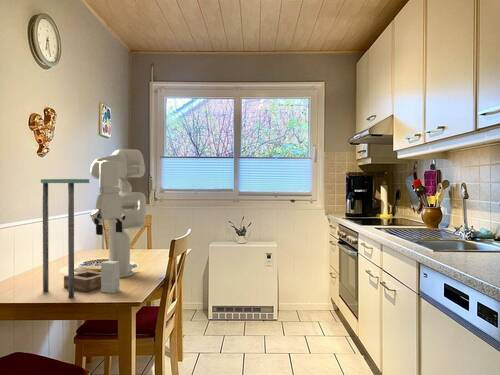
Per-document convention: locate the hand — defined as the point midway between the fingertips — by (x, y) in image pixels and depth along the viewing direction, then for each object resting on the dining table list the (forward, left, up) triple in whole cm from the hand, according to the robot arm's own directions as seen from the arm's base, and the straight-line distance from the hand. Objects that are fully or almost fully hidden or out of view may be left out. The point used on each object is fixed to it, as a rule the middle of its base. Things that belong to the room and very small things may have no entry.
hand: (109, 233), depth 152 cm
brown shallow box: (0, -14, -24) cm, 27 cm away
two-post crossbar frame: (+10, -14, -24) cm, 29 cm away
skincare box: (0, 0, -24) cm, 24 cm away
